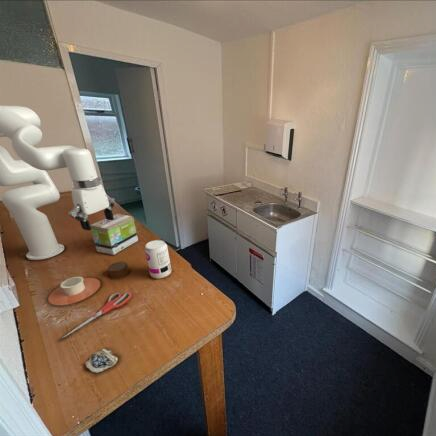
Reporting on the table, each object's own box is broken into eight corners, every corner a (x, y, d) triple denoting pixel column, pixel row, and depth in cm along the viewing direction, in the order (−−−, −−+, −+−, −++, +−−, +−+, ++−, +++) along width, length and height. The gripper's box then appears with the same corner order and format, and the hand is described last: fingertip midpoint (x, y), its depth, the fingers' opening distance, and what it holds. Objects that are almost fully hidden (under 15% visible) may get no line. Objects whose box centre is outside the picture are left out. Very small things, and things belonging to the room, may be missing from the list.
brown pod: (106, 275, 98) (103, 268, 96) (122, 267, 104) (119, 259, 102) (117, 280, 96) (114, 272, 94) (132, 271, 102) (130, 264, 100)
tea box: (114, 255, 111) (106, 228, 105) (96, 252, 112) (87, 225, 106) (139, 240, 124) (133, 215, 118) (123, 237, 126) (116, 212, 120)
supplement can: (150, 281, 97) (143, 251, 90) (150, 270, 103) (144, 241, 97) (172, 276, 100) (166, 247, 94) (171, 266, 107) (166, 237, 101)
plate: (39, 297, 85) (38, 296, 85) (85, 274, 98) (85, 273, 98) (64, 311, 80) (63, 310, 80) (109, 285, 93) (109, 284, 93)
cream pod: (60, 292, 87) (56, 284, 86) (79, 282, 93) (76, 274, 91) (70, 298, 85) (67, 290, 84) (90, 287, 91) (87, 279, 89)
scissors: (59, 338, 71) (58, 335, 71) (117, 292, 90) (116, 289, 90) (81, 344, 70) (79, 340, 70) (135, 295, 89) (134, 292, 89)
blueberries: (100, 348, 70) (98, 343, 69) (125, 351, 69) (123, 347, 68) (79, 370, 63) (77, 366, 63) (107, 374, 63) (105, 370, 62)
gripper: (99, 176, 94) (110, 214, 101) (51, 188, 79) (68, 232, 86) (115, 178, 93) (125, 217, 100) (70, 191, 78) (85, 235, 85)
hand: (99, 224), depth 93 cm, fingers open, 9 cm apart
